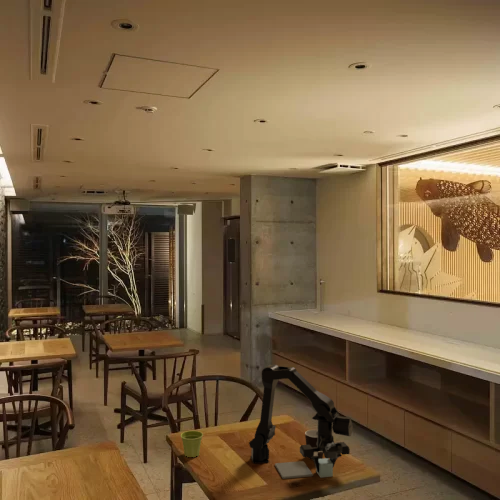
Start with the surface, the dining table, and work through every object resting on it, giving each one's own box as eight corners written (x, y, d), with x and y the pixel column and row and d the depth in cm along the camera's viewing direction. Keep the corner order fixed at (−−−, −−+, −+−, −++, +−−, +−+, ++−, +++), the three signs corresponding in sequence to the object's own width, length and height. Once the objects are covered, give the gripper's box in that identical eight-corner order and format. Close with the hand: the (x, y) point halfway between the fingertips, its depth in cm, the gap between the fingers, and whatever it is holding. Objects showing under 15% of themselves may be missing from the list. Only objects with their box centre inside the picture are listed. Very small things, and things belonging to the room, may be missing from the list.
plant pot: (197, 461, 211) (197, 440, 211) (176, 457, 214) (176, 437, 214) (206, 452, 220) (206, 432, 220) (186, 449, 223) (186, 429, 223)
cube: (320, 477, 198) (320, 464, 197) (316, 471, 202) (316, 459, 202) (332, 476, 199) (332, 463, 199) (328, 470, 204) (328, 458, 203)
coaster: (282, 478, 196) (282, 476, 196) (274, 465, 208) (274, 463, 208) (312, 476, 199) (312, 474, 199) (303, 463, 210) (303, 461, 210)
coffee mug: (312, 463, 210) (312, 438, 210) (300, 455, 218) (300, 431, 218) (335, 457, 216) (335, 434, 215) (323, 450, 223) (323, 427, 223)
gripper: (308, 441, 190) (307, 483, 191) (355, 437, 194) (355, 478, 195) (299, 430, 201) (299, 469, 202) (344, 427, 205) (343, 466, 205)
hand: (324, 471), depth 201 cm, fingers closed on cube, 5 cm apart
